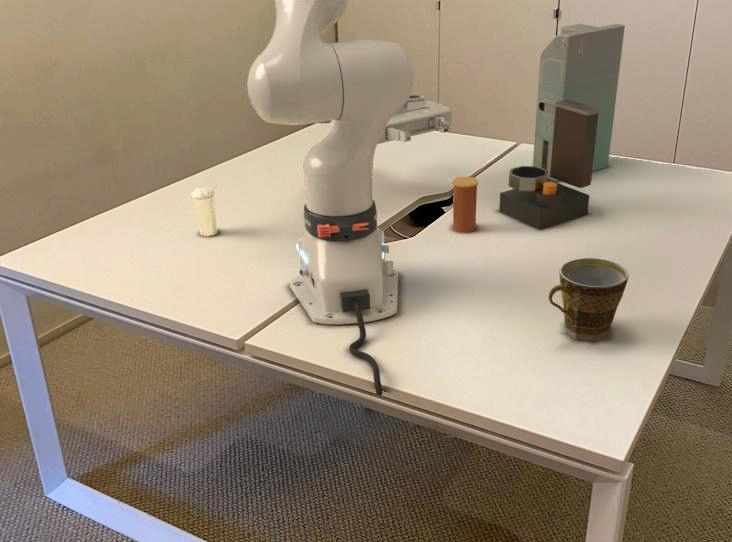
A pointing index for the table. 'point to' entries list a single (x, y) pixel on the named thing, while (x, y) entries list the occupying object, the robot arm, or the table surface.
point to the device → (578, 84)
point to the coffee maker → (565, 149)
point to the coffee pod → (464, 204)
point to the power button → (549, 188)
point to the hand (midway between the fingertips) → (427, 132)
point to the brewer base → (544, 205)
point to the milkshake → (205, 210)
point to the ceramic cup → (590, 296)
